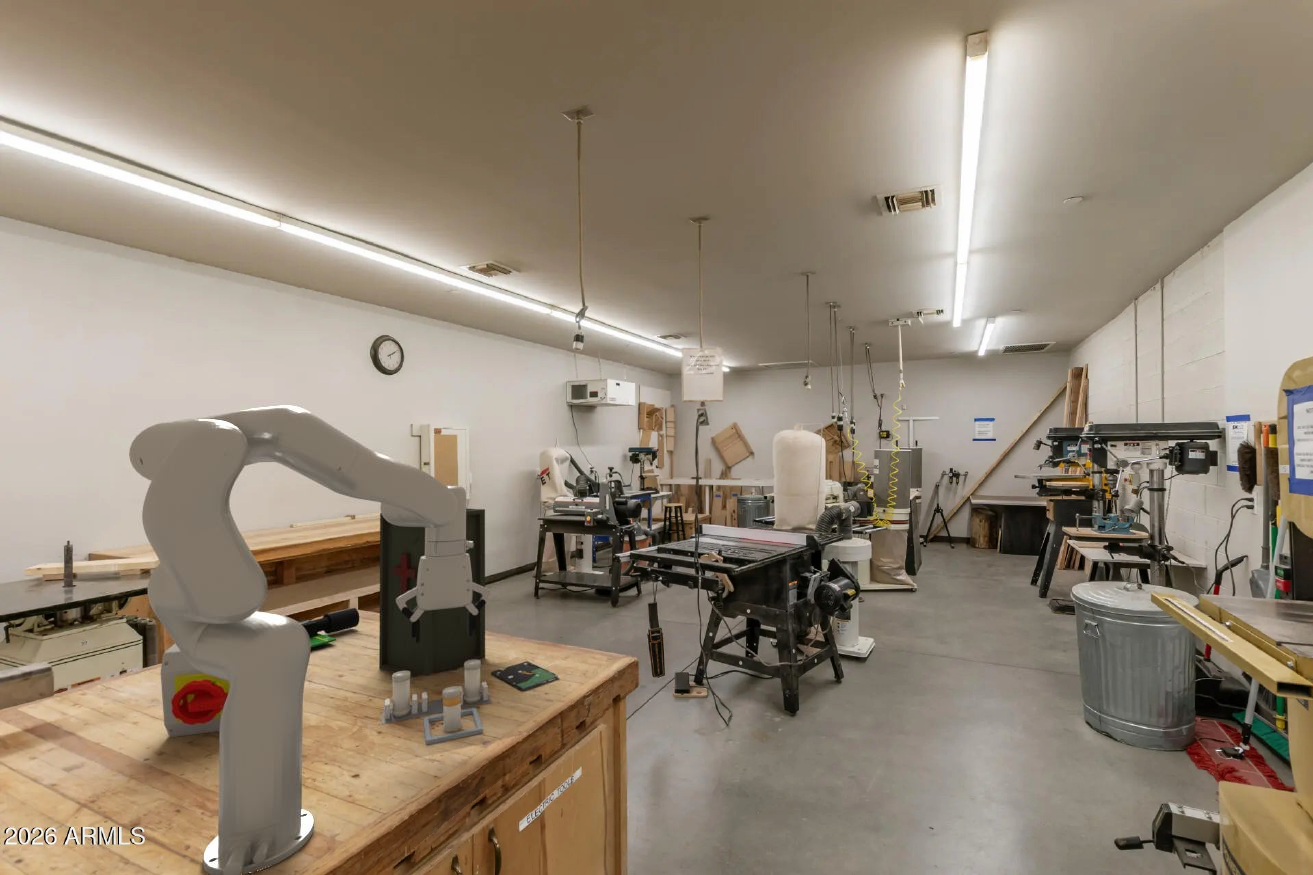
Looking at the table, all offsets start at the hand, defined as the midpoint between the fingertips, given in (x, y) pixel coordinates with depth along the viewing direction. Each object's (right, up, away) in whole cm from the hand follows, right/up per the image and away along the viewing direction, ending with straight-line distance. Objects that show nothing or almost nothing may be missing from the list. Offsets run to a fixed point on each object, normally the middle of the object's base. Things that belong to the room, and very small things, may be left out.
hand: (444, 637), depth 108 cm
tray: (+2, -19, 0) cm, 19 cm away
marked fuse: (+2, -18, 0) cm, 18 cm away
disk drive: (+10, -20, +25) cm, 33 cm away
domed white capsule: (-11, -18, +6) cm, 22 cm away
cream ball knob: (+1, -18, +12) cm, 22 cm away
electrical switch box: (-48, -20, +3) cm, 52 cm away
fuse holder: (-5, -19, +9) cm, 22 cm away
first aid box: (-18, -21, +38) cm, 47 cm away
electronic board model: (-61, -22, +55) cm, 85 cm away
